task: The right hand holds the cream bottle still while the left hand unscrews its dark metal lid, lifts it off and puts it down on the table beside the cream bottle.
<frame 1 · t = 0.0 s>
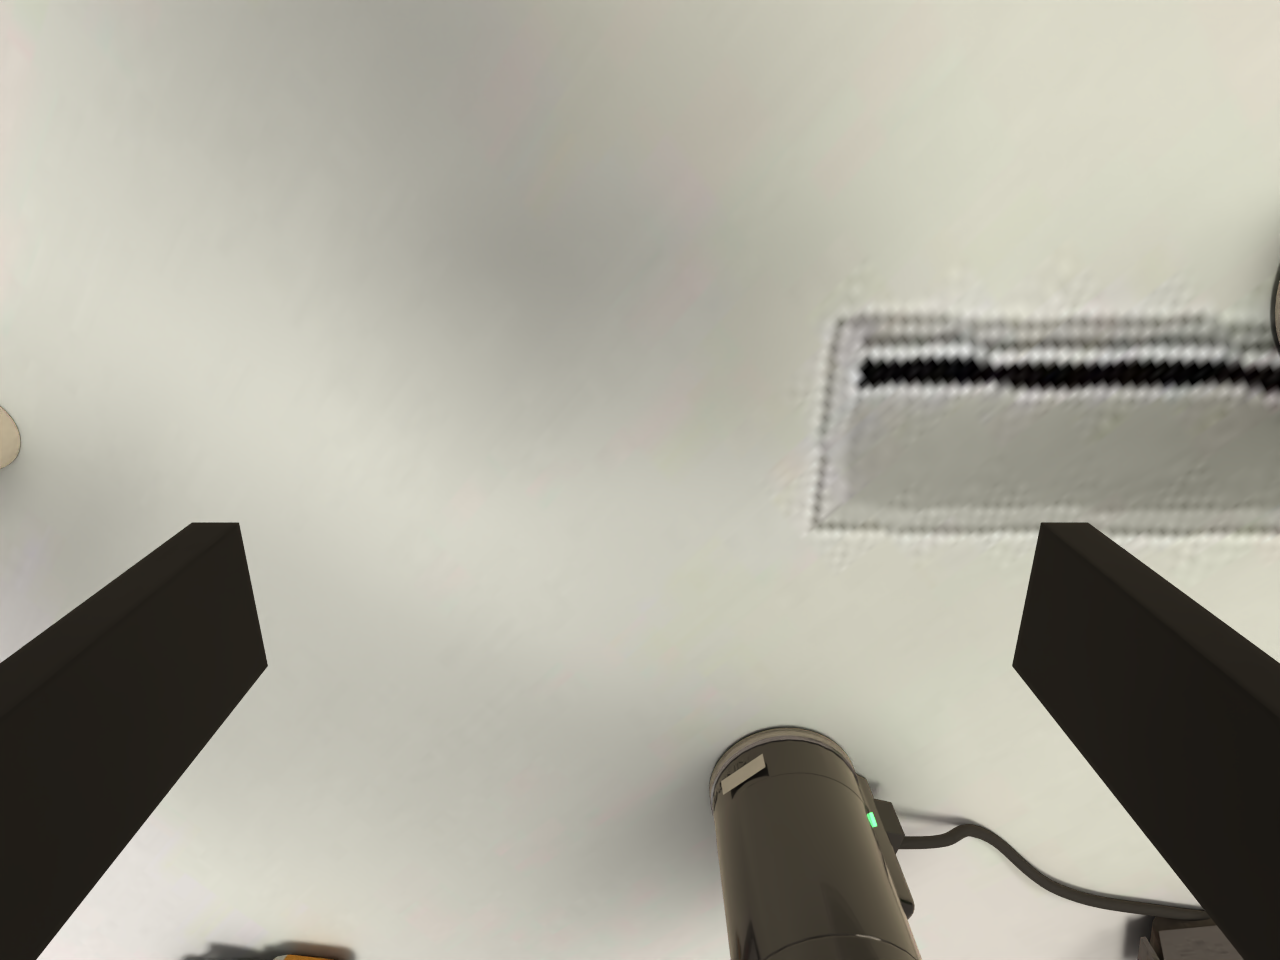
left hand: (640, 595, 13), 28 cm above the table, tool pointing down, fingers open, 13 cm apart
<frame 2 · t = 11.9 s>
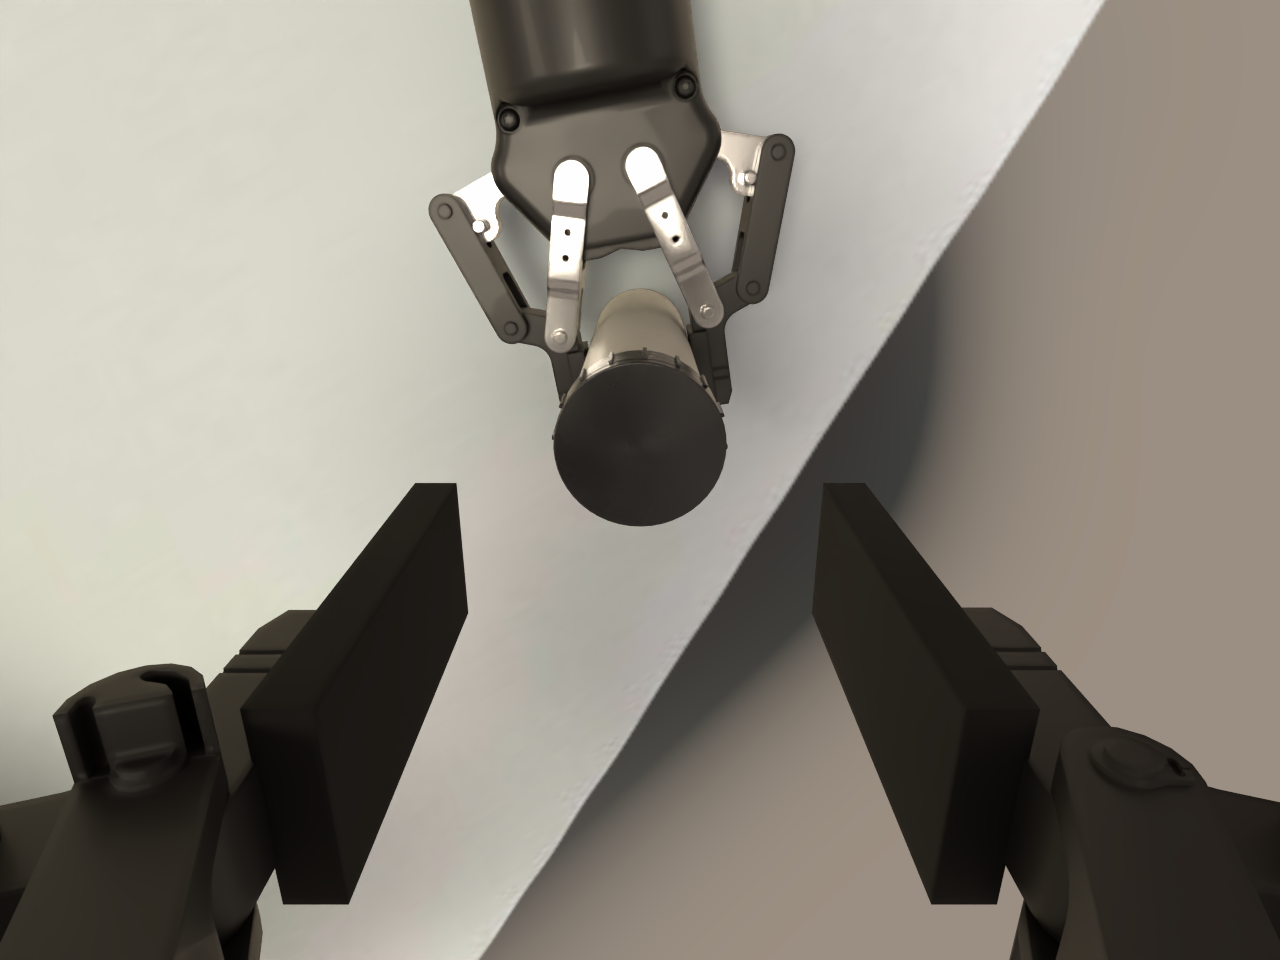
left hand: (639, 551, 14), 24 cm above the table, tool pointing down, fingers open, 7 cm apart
right hand: (651, 422, 32), fingers closed on cream bottle, 4 cm apart
cream bottle: (640, 333, 37), on the table, touching right hand
lid: (639, 443, 20), point 17 cm above the table, screwed on, not yet turned
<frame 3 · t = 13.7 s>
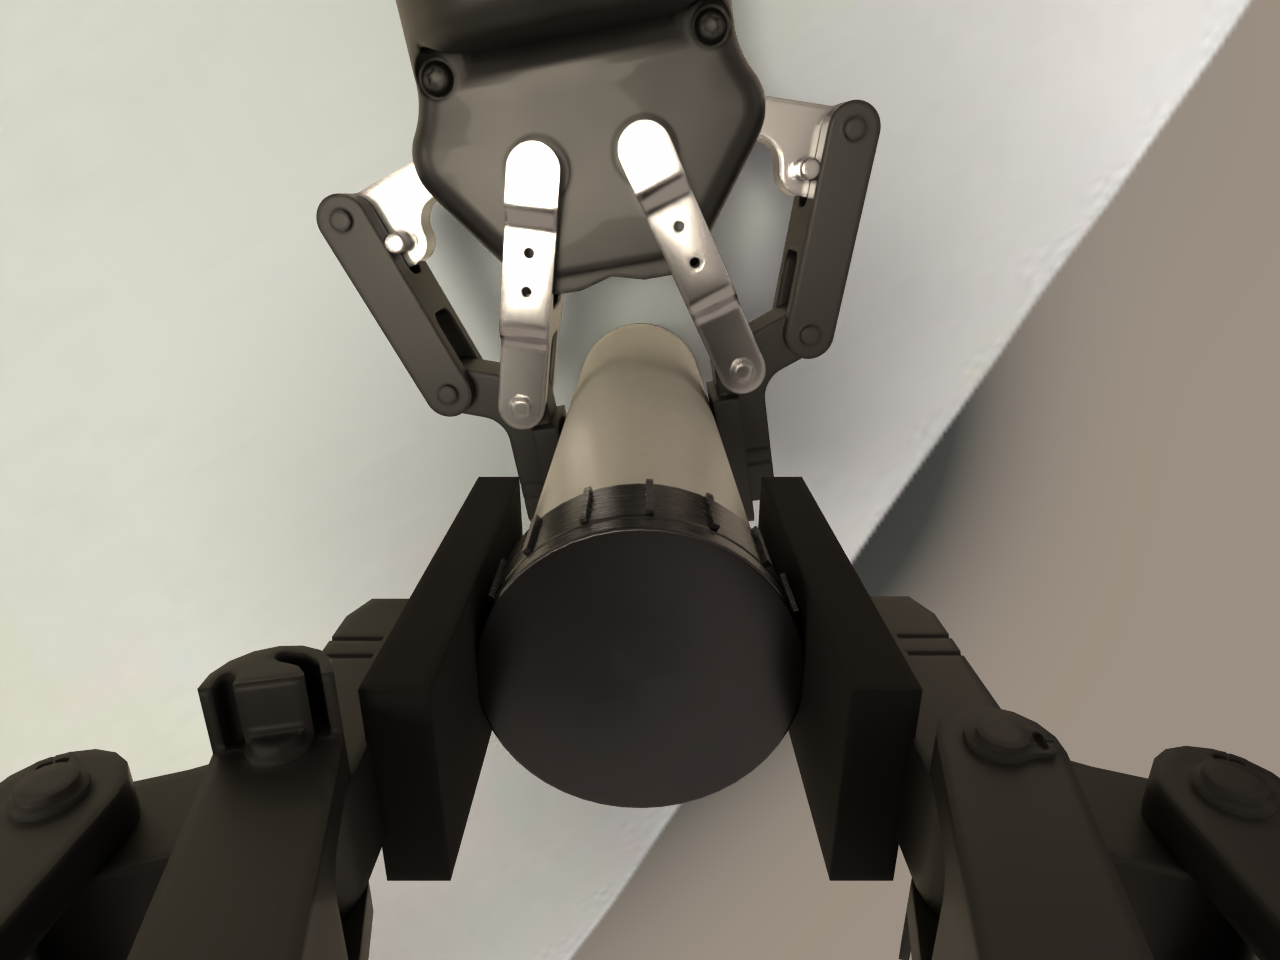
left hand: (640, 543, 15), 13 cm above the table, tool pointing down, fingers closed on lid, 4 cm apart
right hand: (656, 521, 22), fingers closed on cream bottle, 4 cm apart
cream bottle: (640, 382, 27), on the table, touching right hand
lid: (640, 664, 11), point 17 cm above the table, screwed on, not yet turned, touching left hand
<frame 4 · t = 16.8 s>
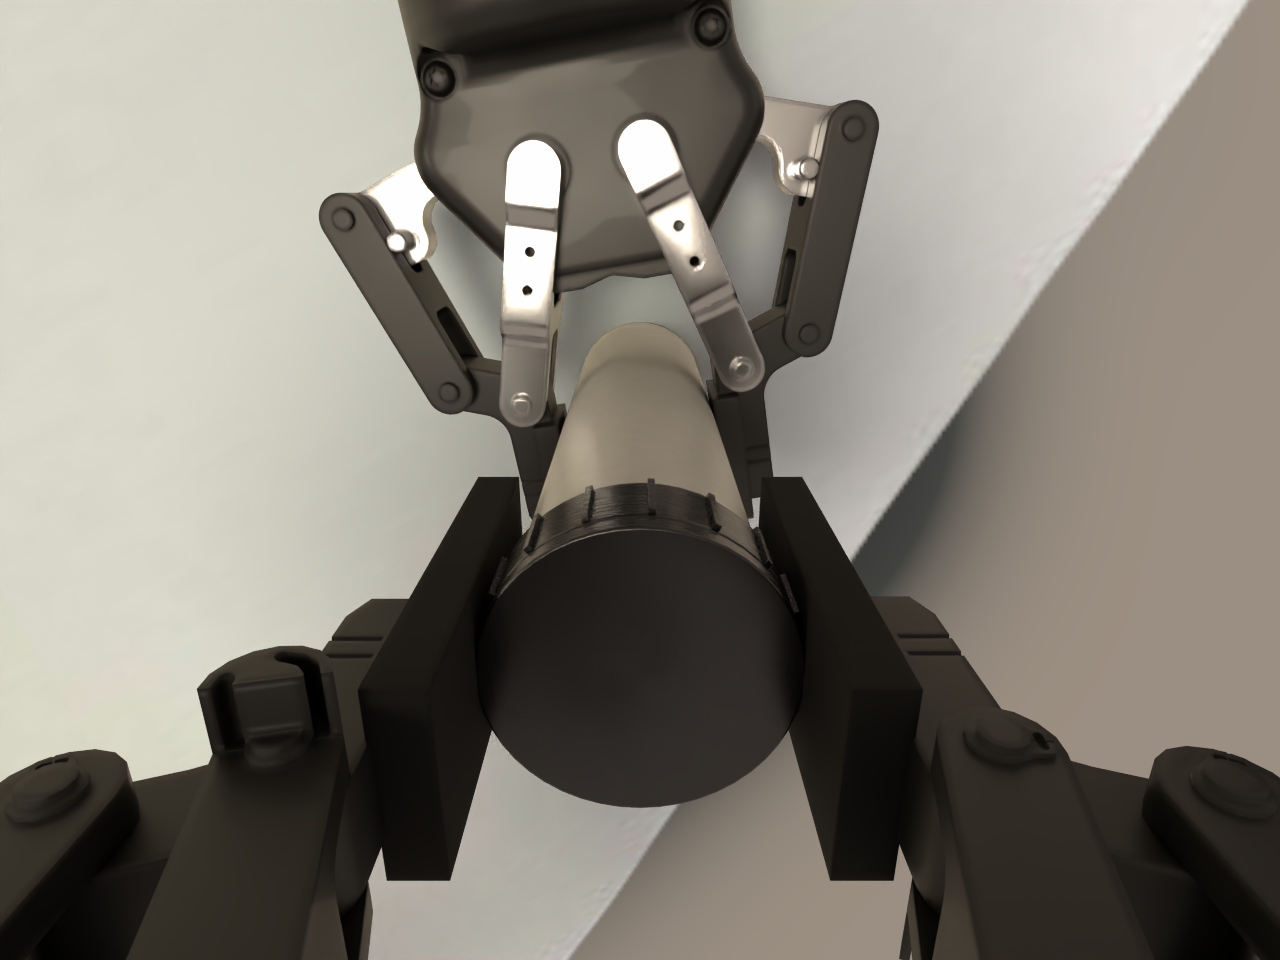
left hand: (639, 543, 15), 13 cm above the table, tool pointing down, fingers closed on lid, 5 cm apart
cream bottle: (640, 381, 27), on the table, touching right hand
lid: (640, 664, 11), point 17 cm above the table, turned 89° so far, risen 0.1 cm, still on its thread, touching left hand
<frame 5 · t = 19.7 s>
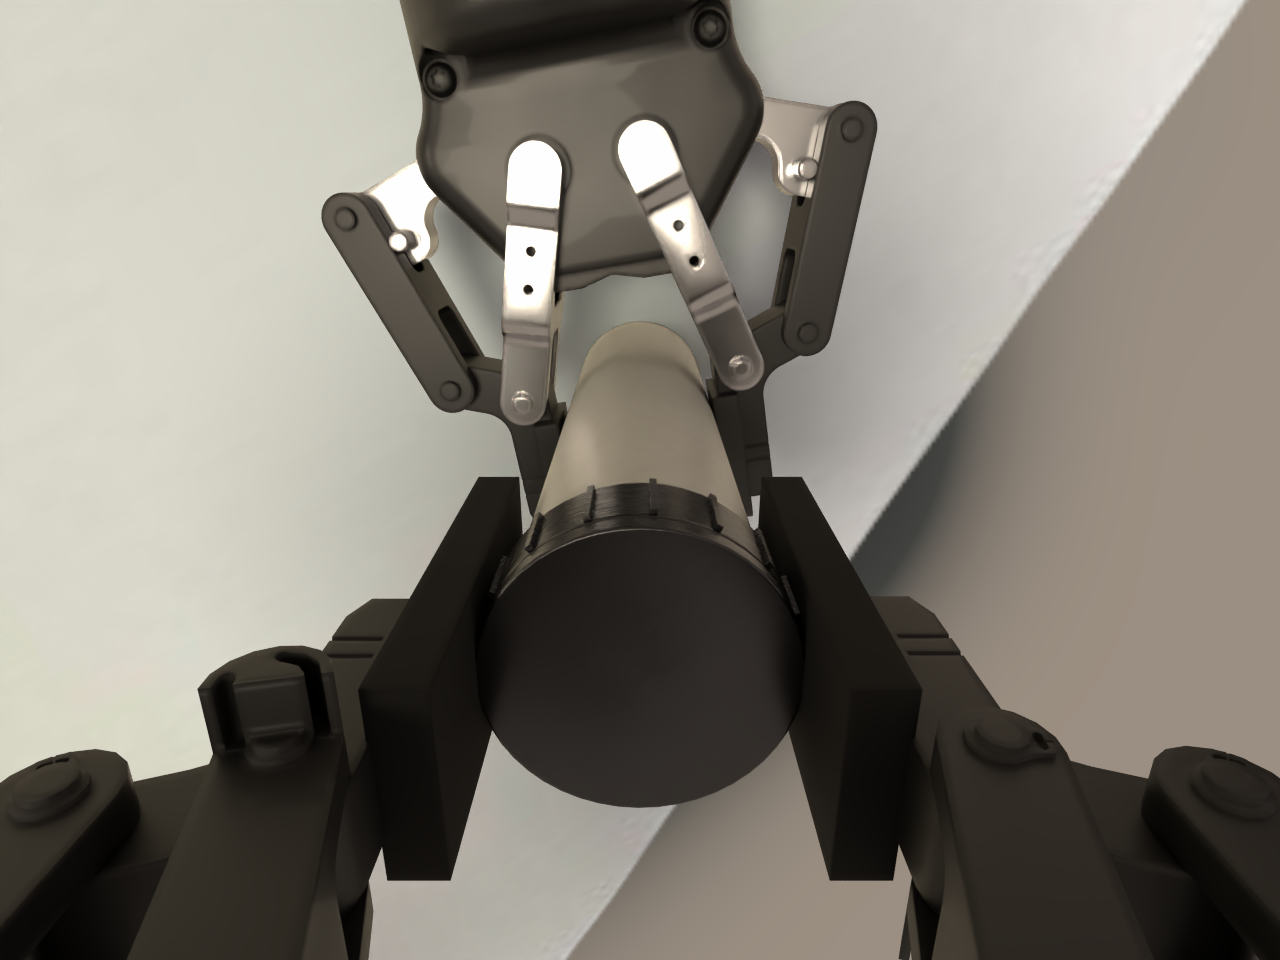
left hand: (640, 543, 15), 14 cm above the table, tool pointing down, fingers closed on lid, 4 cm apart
right hand: (656, 517, 22), fingers closed on cream bottle, 4 cm apart
cream bottle: (640, 380, 27), on the table, touching right hand
lid: (640, 664, 11), point 18 cm above the table, turned 179° so far, risen 0.3 cm, still on its thread, touching left hand
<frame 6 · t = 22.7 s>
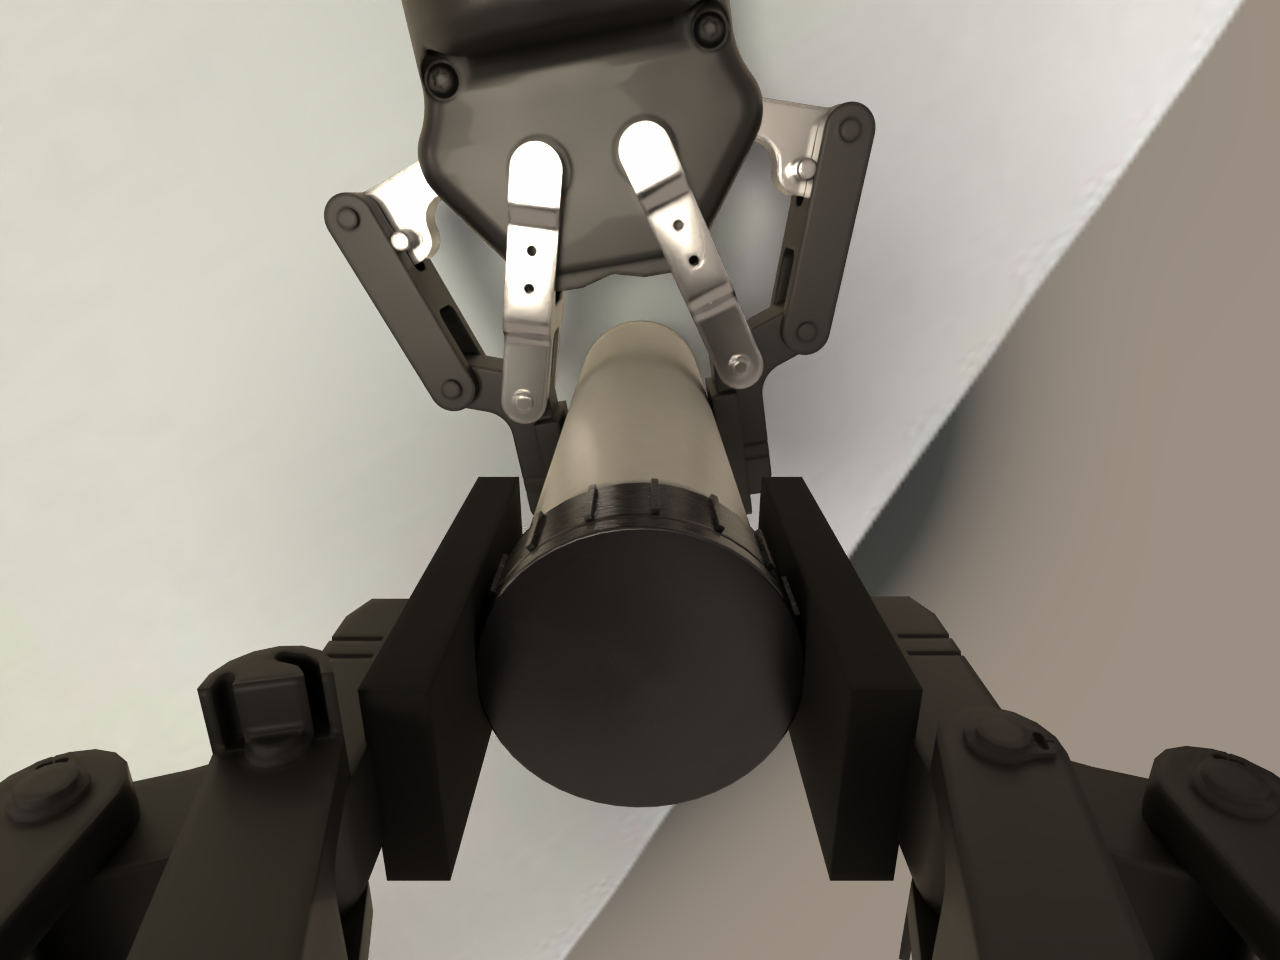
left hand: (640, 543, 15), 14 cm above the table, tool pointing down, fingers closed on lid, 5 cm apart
cream bottle: (640, 379, 28), on the table, touching right hand
lid: (640, 663, 11), point 18 cm above the table, turned 268° so far, risen 0.4 cm, still on its thread, touching left hand
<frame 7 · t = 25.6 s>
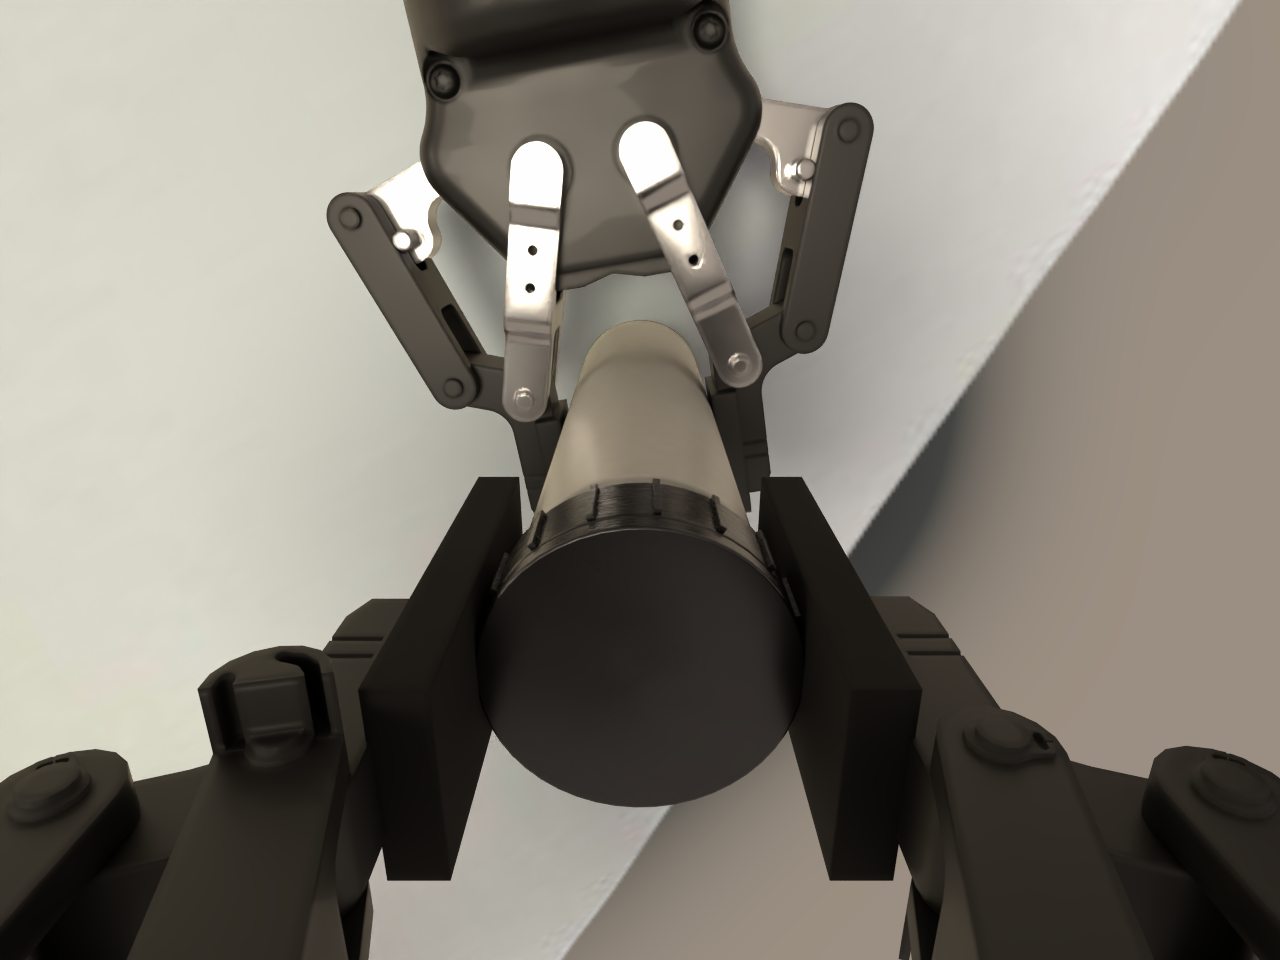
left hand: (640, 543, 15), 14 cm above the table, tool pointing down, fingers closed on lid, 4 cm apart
right hand: (656, 513, 23), fingers closed on cream bottle, 4 cm apart
cream bottle: (640, 378, 28), on the table, touching right hand
lid: (640, 663, 11), point 18 cm above the table, turned 358° so far, risen 0.6 cm, still on its thread, touching left hand
when the left hand's fingers open (0 cm above the table, at t = 33.0 s): lid drops 3 cm, point 1 cm above the table.
when the right hand's fingers open (6 cm above the table, at t = 33.5 s): cream bottle stays where it is, on the table.
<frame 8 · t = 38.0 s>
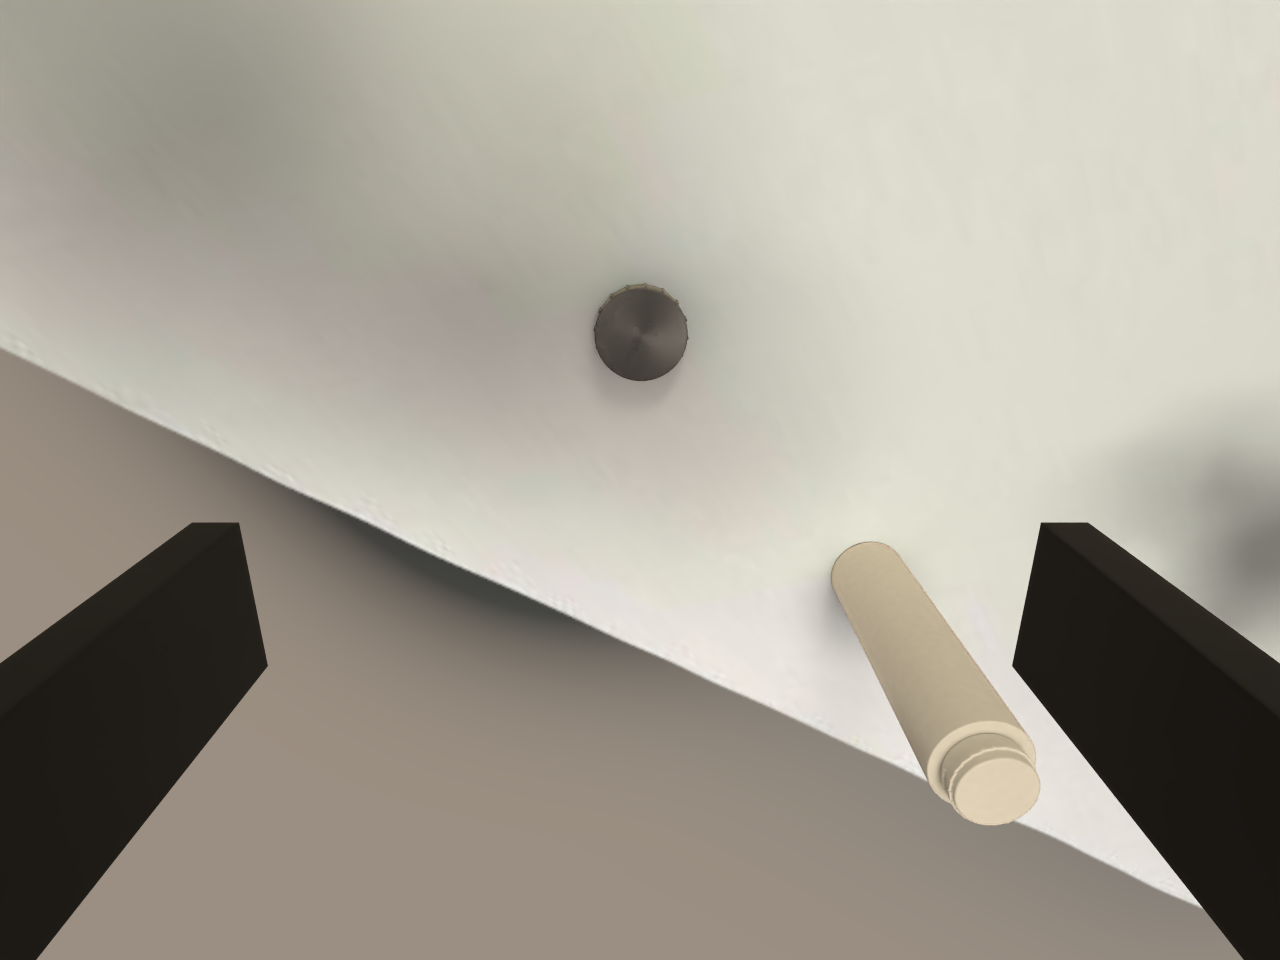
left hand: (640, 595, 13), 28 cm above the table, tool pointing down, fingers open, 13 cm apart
cream bottle: (867, 574, 44), on the table
lid: (641, 334, 38), point 1 cm above the table, off its thread
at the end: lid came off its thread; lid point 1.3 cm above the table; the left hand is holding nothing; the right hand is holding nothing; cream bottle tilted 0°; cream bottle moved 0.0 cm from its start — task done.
